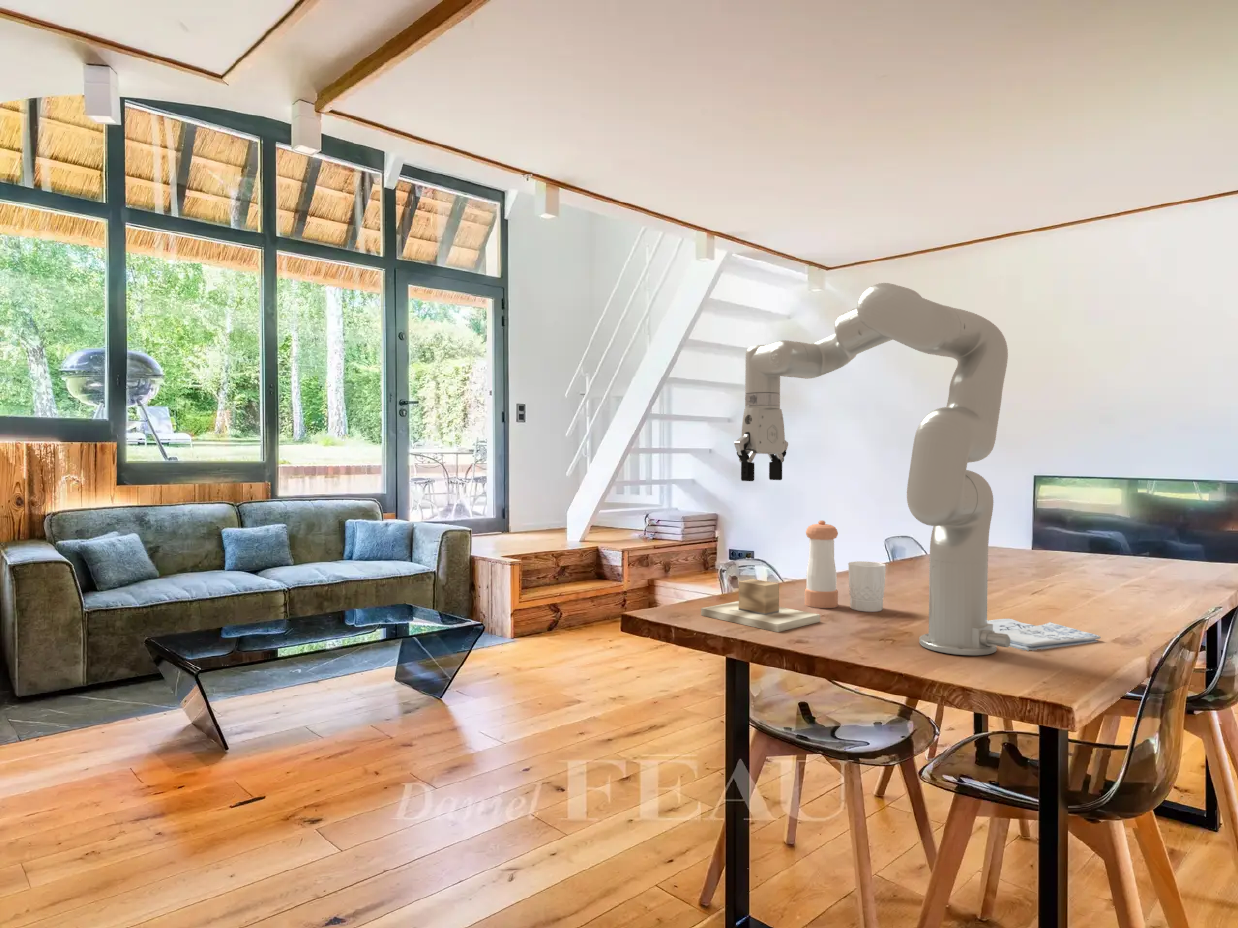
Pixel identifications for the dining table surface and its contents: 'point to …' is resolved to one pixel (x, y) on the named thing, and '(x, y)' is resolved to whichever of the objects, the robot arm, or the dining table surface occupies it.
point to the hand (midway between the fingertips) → (761, 480)
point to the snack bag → (1040, 634)
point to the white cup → (866, 585)
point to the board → (761, 617)
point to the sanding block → (759, 596)
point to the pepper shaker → (821, 567)
